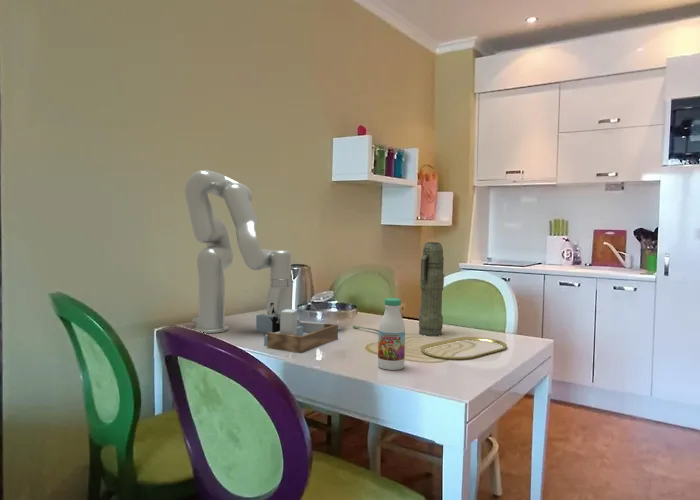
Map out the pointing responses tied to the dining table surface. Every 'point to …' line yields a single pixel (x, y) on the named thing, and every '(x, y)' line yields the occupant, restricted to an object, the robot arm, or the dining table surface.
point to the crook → (266, 326)
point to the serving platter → (462, 340)
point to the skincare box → (288, 322)
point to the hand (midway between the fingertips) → (279, 331)
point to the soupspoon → (364, 328)
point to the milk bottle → (391, 337)
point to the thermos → (431, 290)
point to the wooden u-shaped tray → (302, 339)
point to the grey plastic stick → (311, 326)
